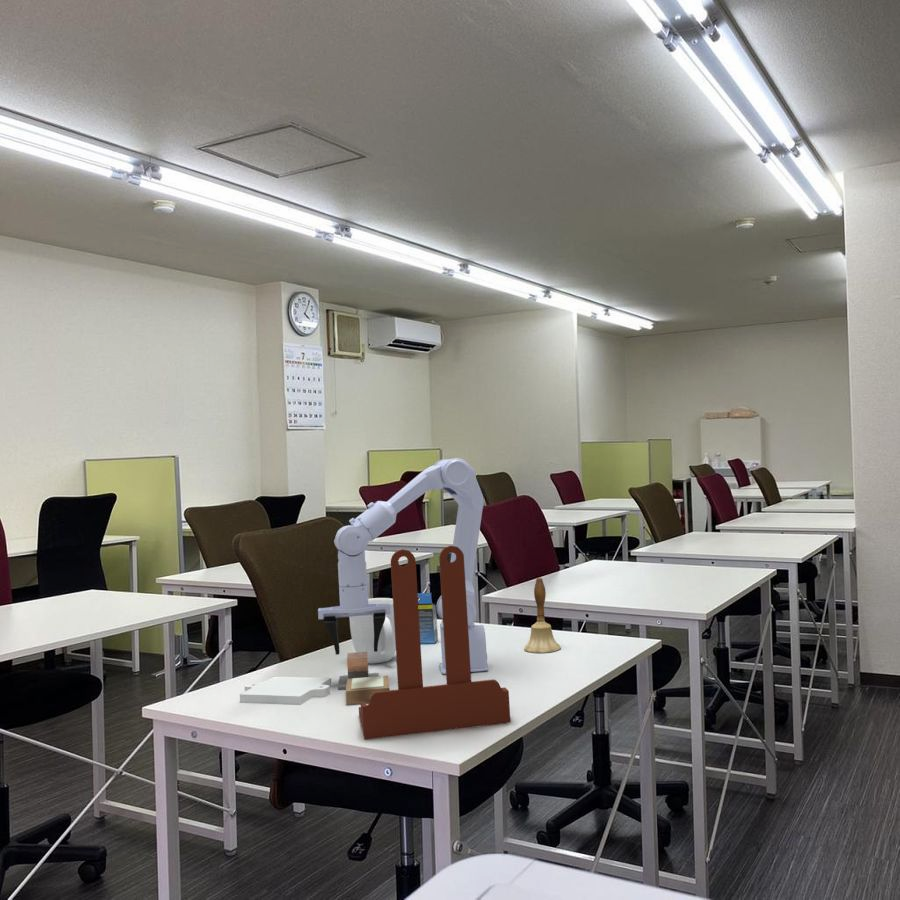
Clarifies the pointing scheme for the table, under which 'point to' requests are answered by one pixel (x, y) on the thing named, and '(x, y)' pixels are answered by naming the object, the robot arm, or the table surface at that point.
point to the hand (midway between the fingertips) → (356, 652)
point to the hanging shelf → (412, 701)
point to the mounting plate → (286, 690)
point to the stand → (364, 688)
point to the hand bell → (541, 626)
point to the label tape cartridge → (427, 619)
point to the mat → (343, 679)
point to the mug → (365, 634)
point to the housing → (357, 665)
